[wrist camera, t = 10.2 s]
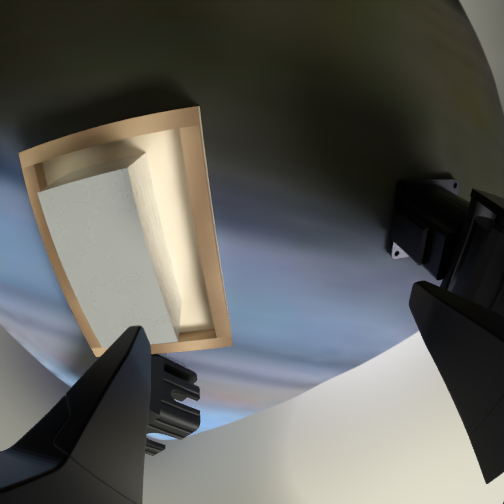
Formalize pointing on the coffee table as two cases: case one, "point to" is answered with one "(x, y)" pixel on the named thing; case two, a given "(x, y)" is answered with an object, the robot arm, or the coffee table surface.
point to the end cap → (171, 402)
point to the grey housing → (115, 249)
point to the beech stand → (169, 206)
